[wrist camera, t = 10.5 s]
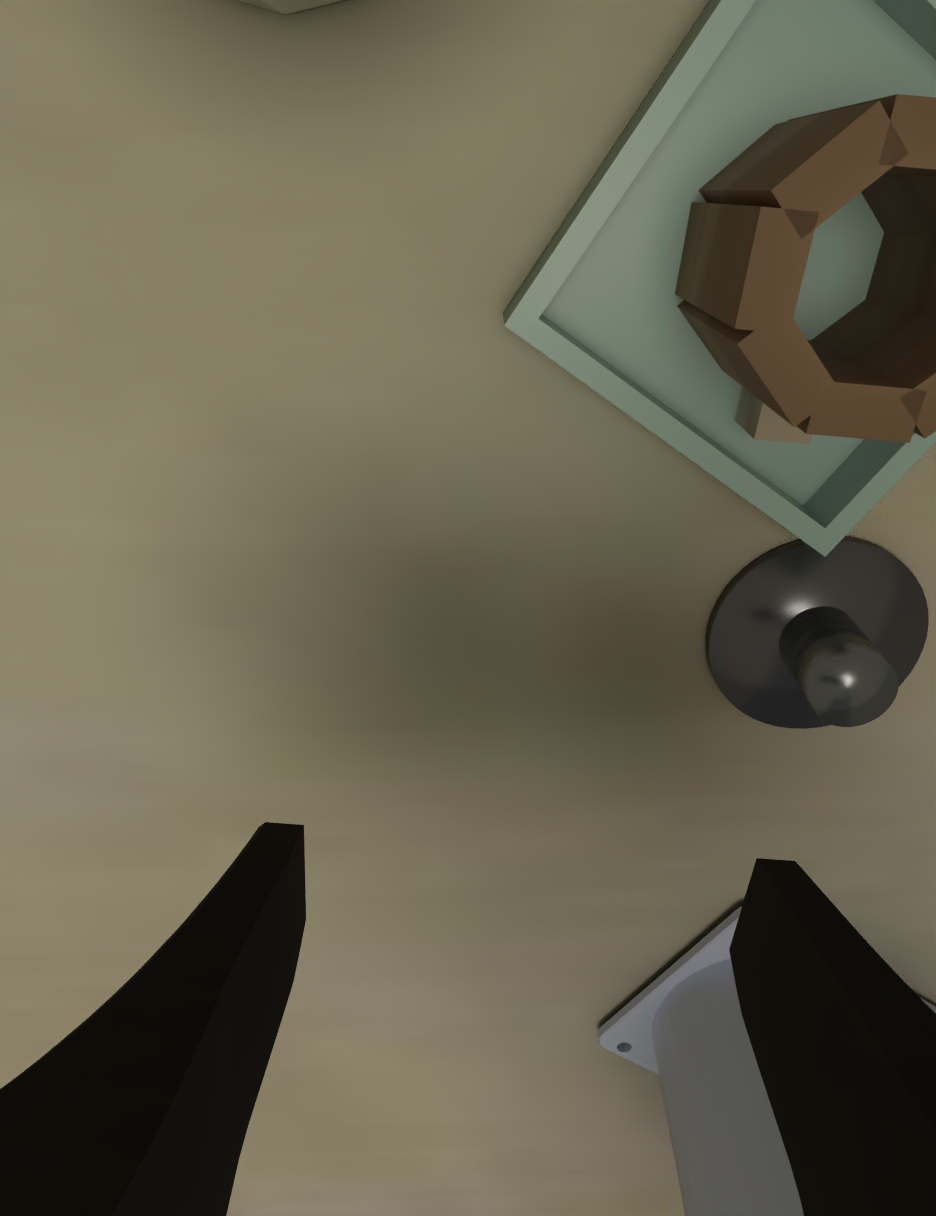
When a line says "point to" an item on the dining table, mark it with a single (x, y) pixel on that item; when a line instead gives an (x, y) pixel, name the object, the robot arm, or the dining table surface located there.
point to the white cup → (288, 4)
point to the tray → (655, 232)
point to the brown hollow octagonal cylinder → (775, 264)
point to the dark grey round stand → (817, 634)
